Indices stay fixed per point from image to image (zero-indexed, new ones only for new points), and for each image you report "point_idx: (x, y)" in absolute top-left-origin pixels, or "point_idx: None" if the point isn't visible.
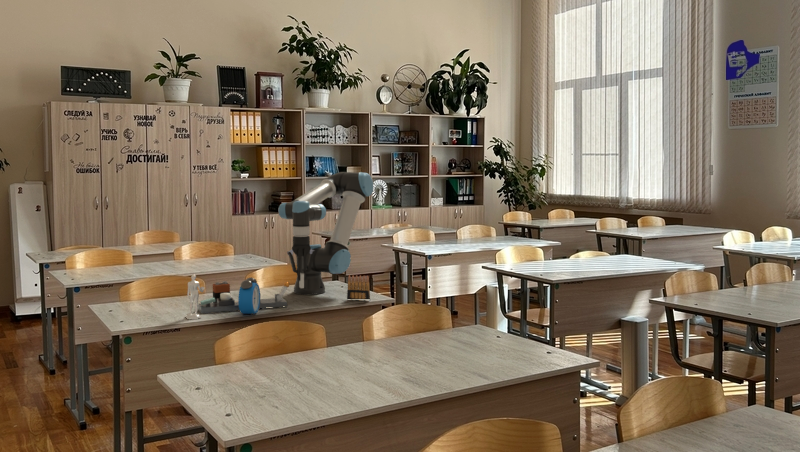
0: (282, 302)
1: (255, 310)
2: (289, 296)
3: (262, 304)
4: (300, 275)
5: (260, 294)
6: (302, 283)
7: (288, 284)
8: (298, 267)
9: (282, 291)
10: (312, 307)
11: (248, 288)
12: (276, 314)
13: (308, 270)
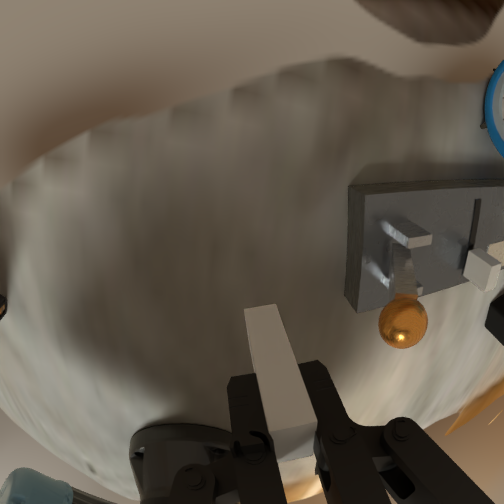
0: (390, 191)
1: (498, 88)
2: None
3: (471, 185)
4: (310, 409)
5: (487, 264)
6: (266, 336)
7: (400, 310)
8: (377, 493)
9: (412, 268)
10: (185, 138)
11: None
12: (419, 30)
13: (200, 479)
